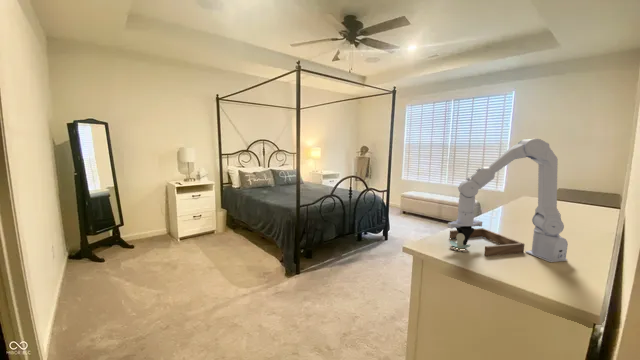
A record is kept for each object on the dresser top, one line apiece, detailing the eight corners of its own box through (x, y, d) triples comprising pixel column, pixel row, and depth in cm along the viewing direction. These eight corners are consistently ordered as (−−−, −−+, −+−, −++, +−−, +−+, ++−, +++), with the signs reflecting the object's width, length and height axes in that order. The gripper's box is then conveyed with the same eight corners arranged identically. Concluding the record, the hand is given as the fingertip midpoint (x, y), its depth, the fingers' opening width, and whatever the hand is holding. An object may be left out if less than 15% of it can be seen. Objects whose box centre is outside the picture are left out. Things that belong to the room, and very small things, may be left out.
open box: (523, 252, 105) (524, 243, 104) (486, 256, 101) (487, 247, 100) (481, 235, 124) (482, 228, 123) (449, 238, 120) (449, 230, 120)
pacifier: (467, 254, 103) (471, 249, 107) (469, 238, 102) (472, 234, 106) (447, 249, 107) (450, 244, 112) (448, 234, 106) (451, 230, 111)
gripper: (473, 208, 114) (471, 239, 116) (443, 209, 111) (441, 242, 112) (487, 212, 107) (484, 245, 109) (455, 214, 104) (453, 248, 105)
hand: (463, 244), depth 110 cm, fingers closed
